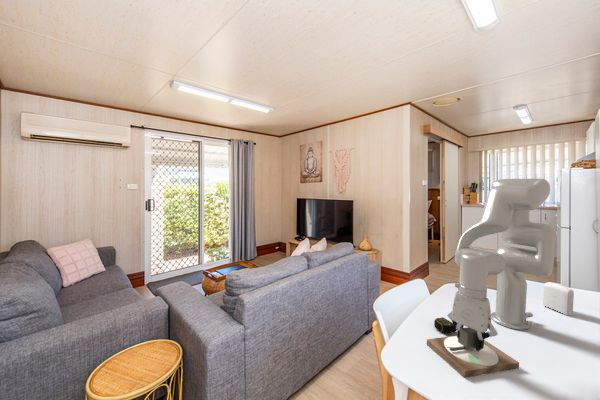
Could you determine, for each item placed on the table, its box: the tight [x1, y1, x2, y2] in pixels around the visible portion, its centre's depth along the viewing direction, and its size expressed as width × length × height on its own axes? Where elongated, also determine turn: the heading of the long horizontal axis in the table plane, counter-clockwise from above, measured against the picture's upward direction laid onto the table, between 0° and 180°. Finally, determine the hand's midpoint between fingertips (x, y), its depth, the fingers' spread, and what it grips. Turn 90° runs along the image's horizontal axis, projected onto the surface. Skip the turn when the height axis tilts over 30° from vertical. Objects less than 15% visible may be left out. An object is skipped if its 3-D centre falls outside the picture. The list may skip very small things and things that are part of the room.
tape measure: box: [434, 317, 457, 334], centre depth 100 cm, size 7×7×4 cm
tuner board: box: [426, 335, 520, 379], centre depth 85 cm, size 20×16×2 cm
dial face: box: [444, 335, 499, 366], centre depth 85 cm, size 15×15×1 cm
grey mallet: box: [450, 327, 478, 351], centre depth 84 cm, size 10×3×6 cm, turn 101°
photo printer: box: [542, 281, 575, 316], centre depth 117 cm, size 10×4×12 cm, turn 13°
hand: (469, 344), depth 85 cm, fingers closed on grey mallet, 4 cm apart
